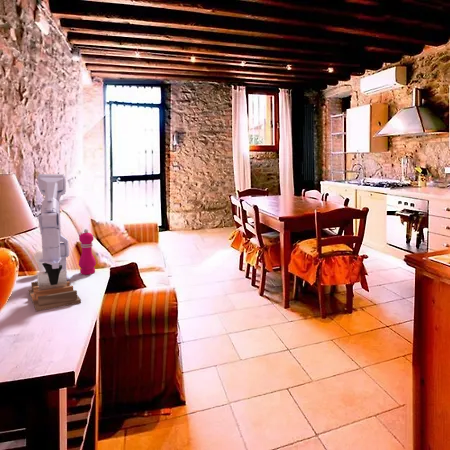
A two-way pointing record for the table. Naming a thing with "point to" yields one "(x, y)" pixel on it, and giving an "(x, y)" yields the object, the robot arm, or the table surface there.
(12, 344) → the table surface
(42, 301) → the rack
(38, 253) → the lightbulb
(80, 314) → the table surface
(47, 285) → the wooden block
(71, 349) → the table surface
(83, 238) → the pepper mill
